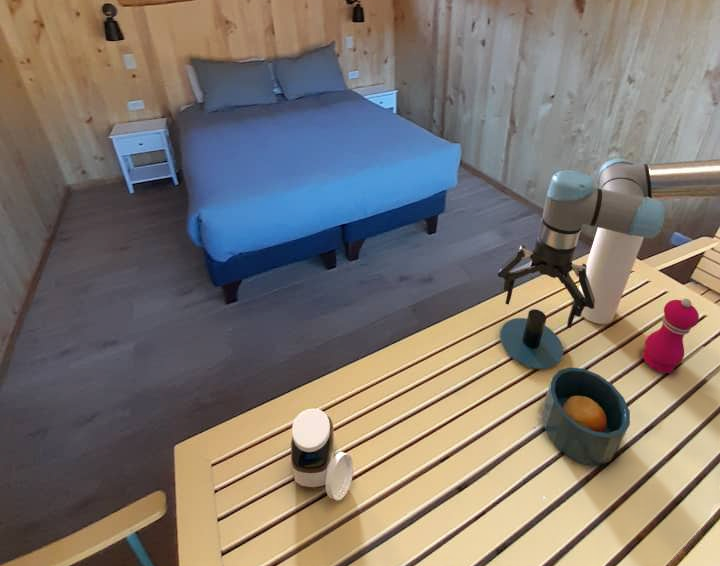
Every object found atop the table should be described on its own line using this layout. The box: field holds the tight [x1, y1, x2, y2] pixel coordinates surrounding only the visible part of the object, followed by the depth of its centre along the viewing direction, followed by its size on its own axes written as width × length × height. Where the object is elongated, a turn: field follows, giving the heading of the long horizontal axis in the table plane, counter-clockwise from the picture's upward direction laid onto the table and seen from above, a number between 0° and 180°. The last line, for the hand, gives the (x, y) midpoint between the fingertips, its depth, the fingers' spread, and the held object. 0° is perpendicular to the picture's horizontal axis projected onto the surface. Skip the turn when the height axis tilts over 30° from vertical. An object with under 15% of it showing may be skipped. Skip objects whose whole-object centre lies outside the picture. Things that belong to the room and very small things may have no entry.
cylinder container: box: [578, 227, 645, 325], centre depth 102 cm, size 9×9×30 cm
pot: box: [541, 366, 631, 467], centre depth 80 cm, size 14×14×10 cm
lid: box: [499, 308, 564, 371], centre depth 97 cm, size 15×15×10 cm
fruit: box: [562, 396, 607, 433], centre depth 80 cm, size 8×8×8 cm
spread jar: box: [290, 408, 354, 501], centre depth 74 cm, size 12×11×12 cm
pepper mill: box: [642, 298, 700, 374], centre depth 90 cm, size 7×7×20 cm
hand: (537, 311), depth 95 cm, fingers open, 13 cm apart
